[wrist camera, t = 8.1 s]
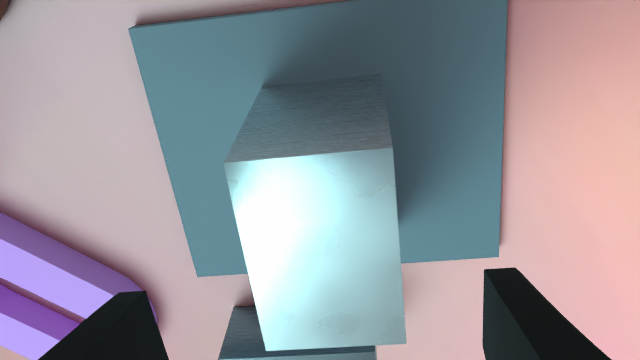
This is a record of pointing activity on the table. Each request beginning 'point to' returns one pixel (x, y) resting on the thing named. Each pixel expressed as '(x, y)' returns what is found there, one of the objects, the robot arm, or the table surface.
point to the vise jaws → (251, 356)
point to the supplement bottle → (3, 7)
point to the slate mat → (333, 63)
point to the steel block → (320, 214)
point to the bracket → (48, 288)
